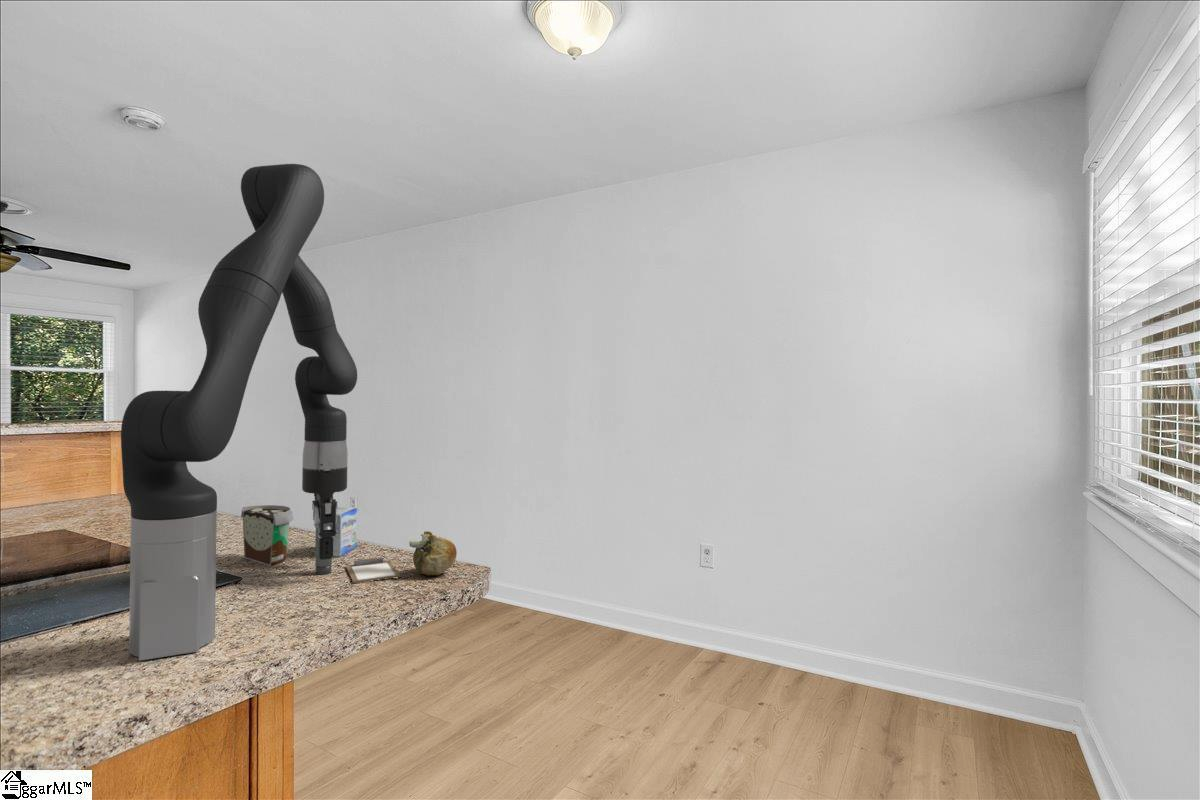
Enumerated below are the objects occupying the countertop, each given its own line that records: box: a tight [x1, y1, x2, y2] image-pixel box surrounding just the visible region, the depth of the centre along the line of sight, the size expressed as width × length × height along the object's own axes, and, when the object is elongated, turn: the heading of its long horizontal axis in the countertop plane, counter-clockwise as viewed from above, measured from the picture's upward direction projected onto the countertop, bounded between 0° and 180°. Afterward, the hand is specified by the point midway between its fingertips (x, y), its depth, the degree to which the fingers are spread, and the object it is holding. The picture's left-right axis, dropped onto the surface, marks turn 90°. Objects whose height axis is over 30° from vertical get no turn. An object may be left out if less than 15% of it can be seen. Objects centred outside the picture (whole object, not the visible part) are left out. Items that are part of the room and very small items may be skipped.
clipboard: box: [345, 557, 402, 584], centre depth 112 cm, size 11×8×1 cm
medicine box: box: [332, 506, 358, 558], centre depth 125 cm, size 8×4×9 cm, turn 179°
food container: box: [240, 504, 294, 567], centre depth 119 cm, size 12×6×10 cm, turn 58°
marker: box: [314, 527, 333, 576], centre depth 111 cm, size 3×3×12 cm
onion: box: [408, 530, 457, 576], centre depth 112 cm, size 8×8×8 cm
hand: (323, 552), depth 111 cm, fingers open, 8 cm apart
